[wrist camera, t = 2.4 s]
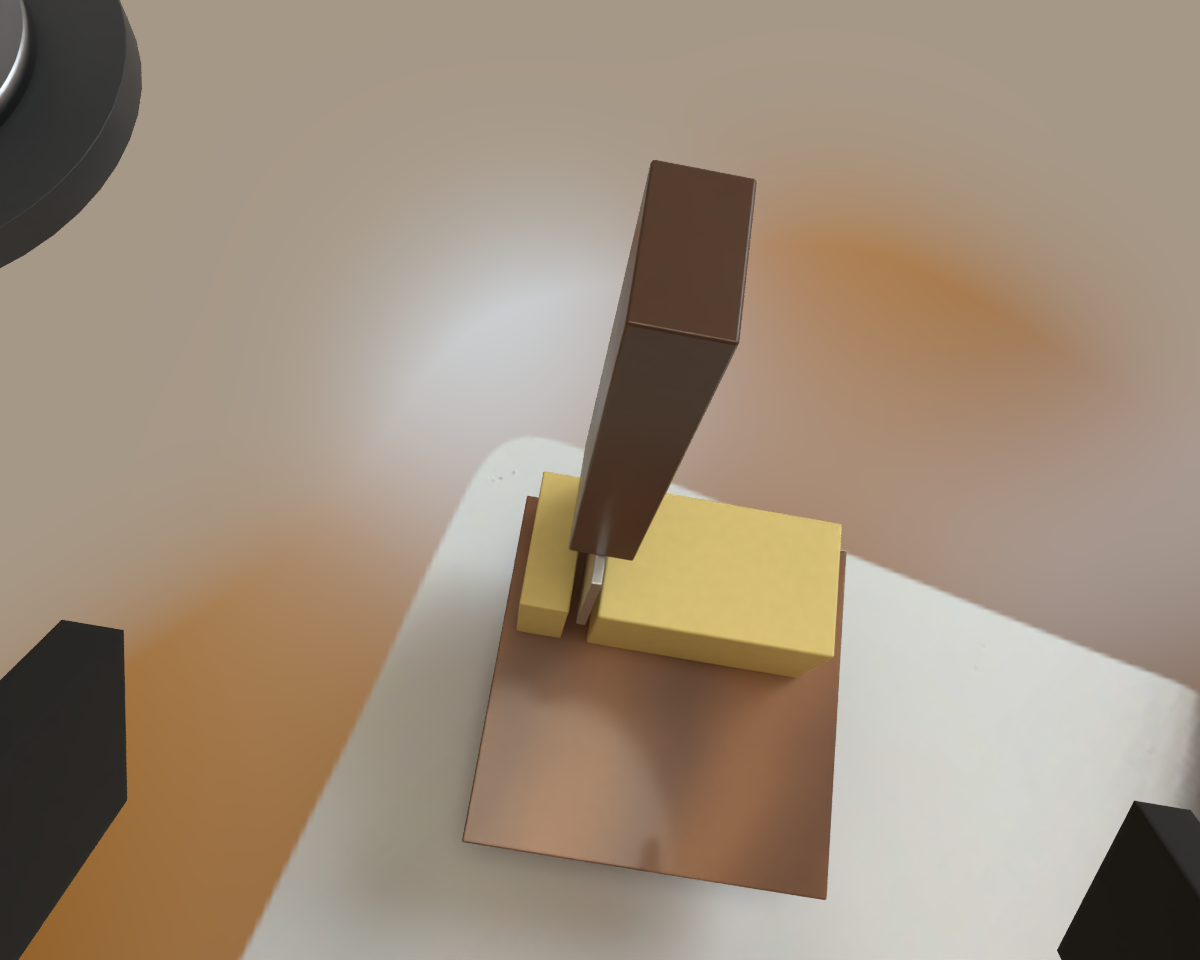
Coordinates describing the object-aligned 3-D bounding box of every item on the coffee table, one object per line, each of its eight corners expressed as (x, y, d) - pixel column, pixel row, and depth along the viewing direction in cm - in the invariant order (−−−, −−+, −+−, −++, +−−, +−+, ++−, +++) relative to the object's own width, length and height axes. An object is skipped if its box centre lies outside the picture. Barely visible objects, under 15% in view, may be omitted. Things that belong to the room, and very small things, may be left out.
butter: (516, 631, 34) (519, 604, 30) (538, 510, 35) (543, 470, 32) (797, 679, 34) (834, 657, 30) (806, 557, 36) (842, 523, 32)
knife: (552, 619, 31) (617, 369, 15) (575, 480, 32) (658, 120, 16) (608, 629, 31) (735, 390, 15) (629, 488, 33) (762, 140, 17)
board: (463, 842, 33) (462, 841, 31) (525, 508, 37) (527, 495, 36) (812, 898, 33) (826, 900, 32) (833, 562, 37) (846, 551, 36)
